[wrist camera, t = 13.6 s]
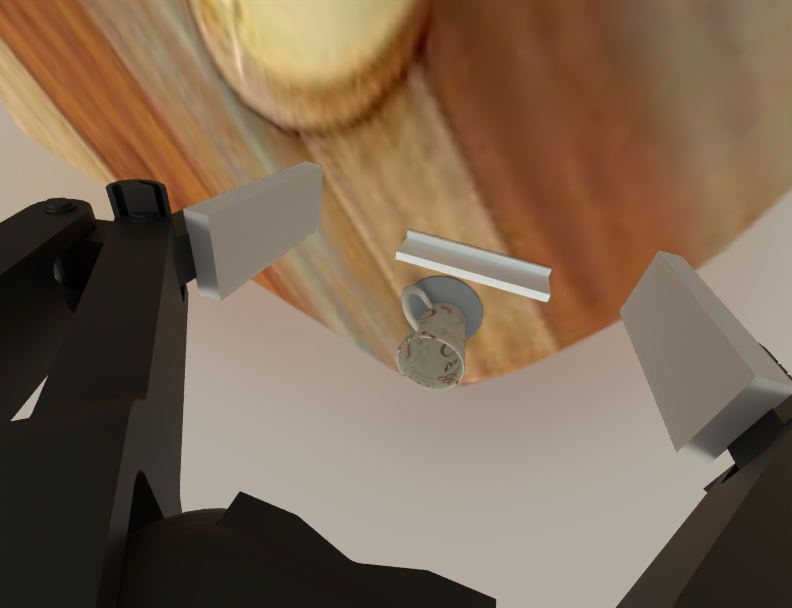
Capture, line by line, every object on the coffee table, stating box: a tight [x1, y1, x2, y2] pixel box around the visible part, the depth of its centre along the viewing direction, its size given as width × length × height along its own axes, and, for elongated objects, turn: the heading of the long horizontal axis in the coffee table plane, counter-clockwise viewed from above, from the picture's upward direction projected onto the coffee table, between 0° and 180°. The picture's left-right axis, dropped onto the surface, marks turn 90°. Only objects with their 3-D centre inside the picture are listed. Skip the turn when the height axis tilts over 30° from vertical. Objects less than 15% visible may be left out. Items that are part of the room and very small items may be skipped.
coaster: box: [409, 276, 483, 340], centre depth 51 cm, size 11×11×1 cm
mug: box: [396, 285, 465, 391], centre depth 46 cm, size 8×13×10 cm, turn 36°
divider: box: [396, 229, 552, 302], centre depth 43 cm, size 3×18×5 cm, turn 80°
